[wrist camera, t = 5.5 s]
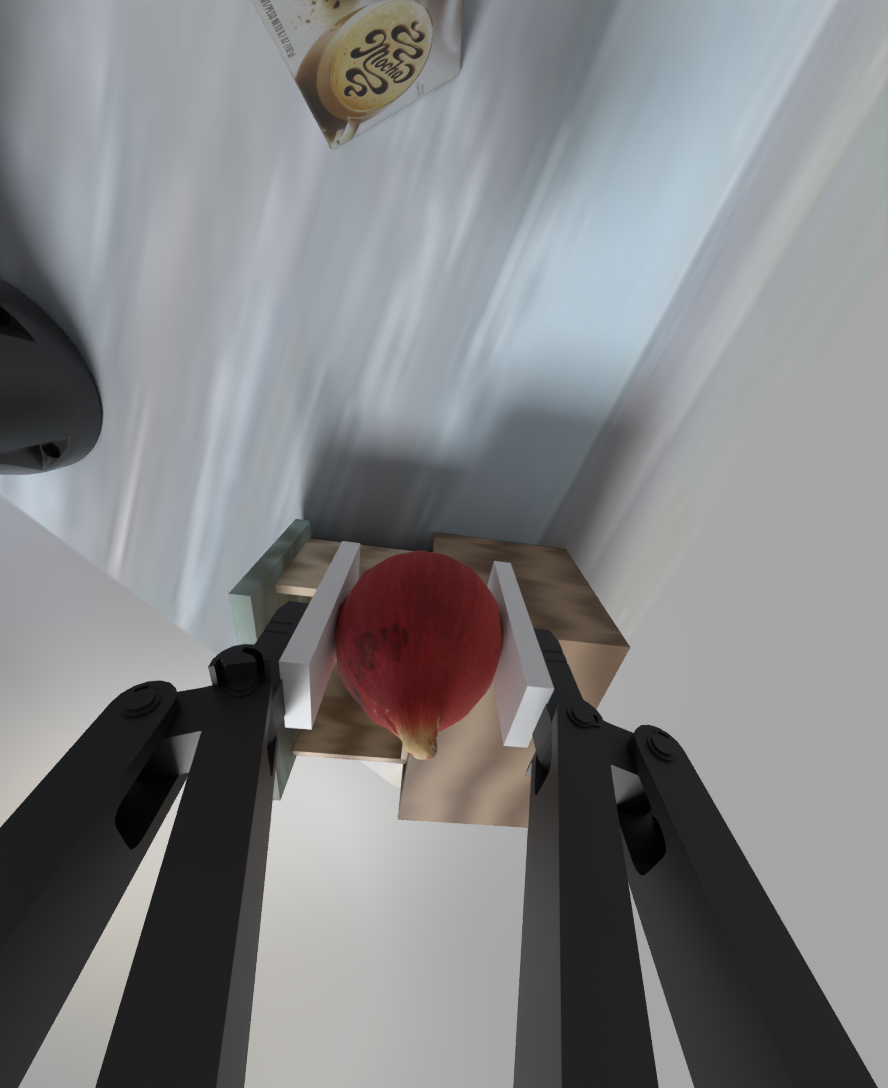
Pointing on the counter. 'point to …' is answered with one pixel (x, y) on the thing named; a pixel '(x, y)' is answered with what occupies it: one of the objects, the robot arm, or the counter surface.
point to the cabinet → (476, 740)
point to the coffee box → (364, 55)
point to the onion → (418, 645)
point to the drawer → (340, 718)
